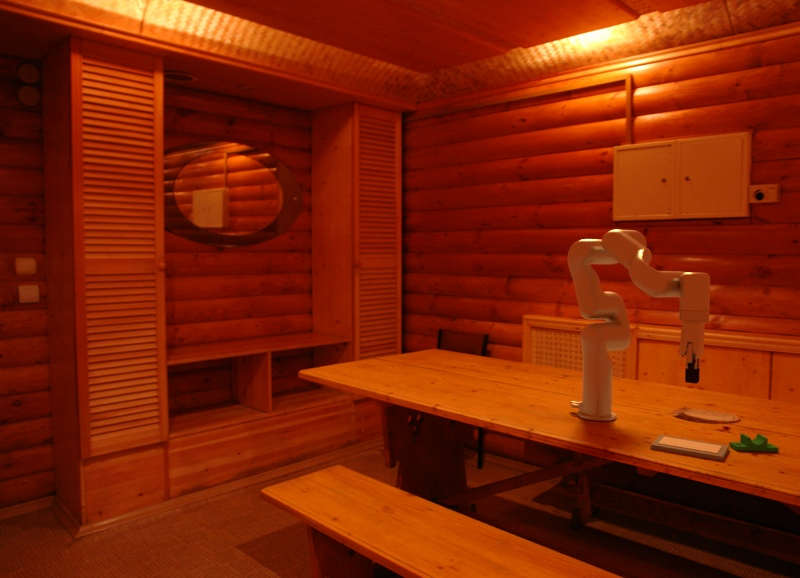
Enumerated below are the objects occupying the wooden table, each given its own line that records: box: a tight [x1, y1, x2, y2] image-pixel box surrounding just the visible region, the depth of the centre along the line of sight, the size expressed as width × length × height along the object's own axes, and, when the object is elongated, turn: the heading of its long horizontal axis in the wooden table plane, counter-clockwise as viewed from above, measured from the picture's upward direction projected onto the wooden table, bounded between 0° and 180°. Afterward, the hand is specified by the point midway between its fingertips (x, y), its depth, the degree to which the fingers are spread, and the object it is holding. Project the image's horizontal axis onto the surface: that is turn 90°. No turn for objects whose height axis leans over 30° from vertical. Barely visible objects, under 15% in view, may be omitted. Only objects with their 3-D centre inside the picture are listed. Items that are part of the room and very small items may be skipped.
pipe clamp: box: [728, 433, 780, 453], centre depth 170 cm, size 11×4×5 cm
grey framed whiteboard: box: [650, 434, 730, 462], centre depth 170 cm, size 18×12×1 cm, turn 55°
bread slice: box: [670, 406, 742, 424], centre depth 202 cm, size 18×18×4 cm
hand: (692, 381), depth 169 cm, fingers closed
